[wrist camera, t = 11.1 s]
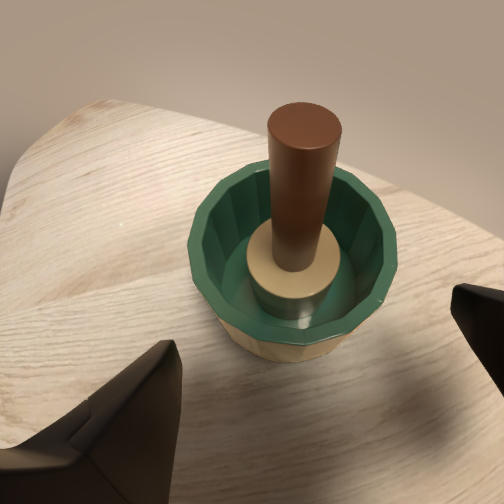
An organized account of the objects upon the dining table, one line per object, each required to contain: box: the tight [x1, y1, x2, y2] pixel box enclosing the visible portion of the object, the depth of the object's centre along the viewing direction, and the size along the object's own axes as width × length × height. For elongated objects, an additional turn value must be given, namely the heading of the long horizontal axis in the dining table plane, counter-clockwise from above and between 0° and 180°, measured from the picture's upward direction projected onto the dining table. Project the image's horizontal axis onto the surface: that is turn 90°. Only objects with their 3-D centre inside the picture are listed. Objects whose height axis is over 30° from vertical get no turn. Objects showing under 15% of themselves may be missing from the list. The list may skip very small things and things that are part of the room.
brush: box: [246, 102, 342, 320], centre depth 12 cm, size 4×4×10 cm
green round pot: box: [187, 160, 398, 363], centre depth 15 cm, size 8×8×6 cm
